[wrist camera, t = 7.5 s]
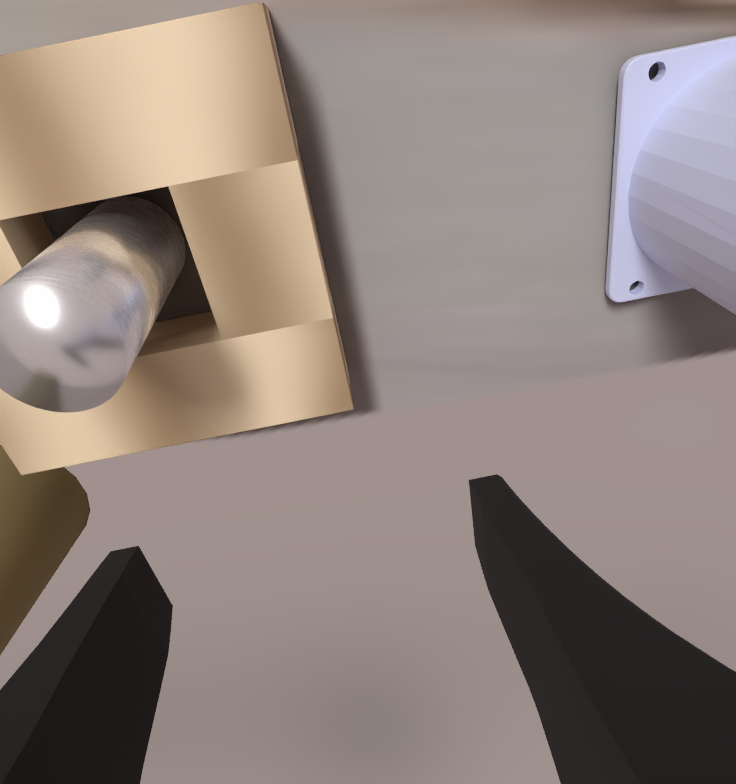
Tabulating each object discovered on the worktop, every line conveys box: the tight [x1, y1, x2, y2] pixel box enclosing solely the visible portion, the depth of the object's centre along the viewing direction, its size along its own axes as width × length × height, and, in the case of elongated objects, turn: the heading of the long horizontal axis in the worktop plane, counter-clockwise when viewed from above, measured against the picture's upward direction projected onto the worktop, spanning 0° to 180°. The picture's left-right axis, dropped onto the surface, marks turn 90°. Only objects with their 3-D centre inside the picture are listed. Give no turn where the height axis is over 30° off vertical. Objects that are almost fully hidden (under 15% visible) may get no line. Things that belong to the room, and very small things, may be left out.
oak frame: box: [0, 2, 354, 475], centre depth 18 cm, size 12×12×3 cm
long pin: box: [0, 196, 186, 413], centre depth 16 cm, size 3×3×8 cm
